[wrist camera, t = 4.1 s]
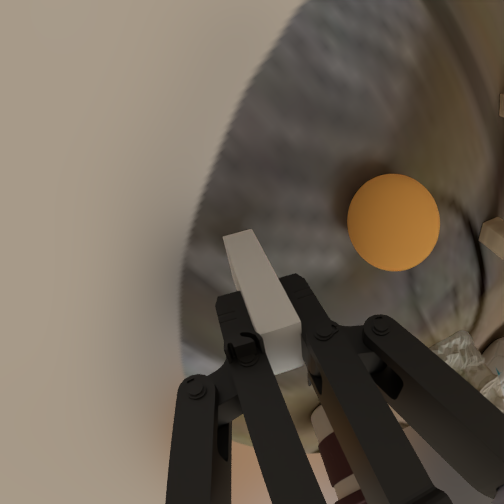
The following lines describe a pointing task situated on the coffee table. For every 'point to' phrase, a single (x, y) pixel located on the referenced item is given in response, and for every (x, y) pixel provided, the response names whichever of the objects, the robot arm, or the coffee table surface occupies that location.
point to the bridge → (494, 220)
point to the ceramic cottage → (470, 365)
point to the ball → (393, 222)
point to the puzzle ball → (496, 359)
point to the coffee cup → (336, 461)
